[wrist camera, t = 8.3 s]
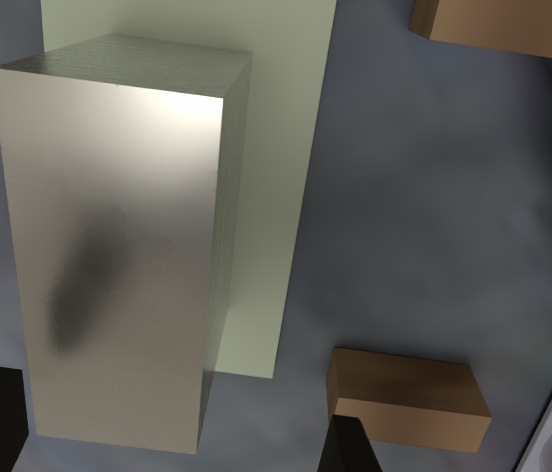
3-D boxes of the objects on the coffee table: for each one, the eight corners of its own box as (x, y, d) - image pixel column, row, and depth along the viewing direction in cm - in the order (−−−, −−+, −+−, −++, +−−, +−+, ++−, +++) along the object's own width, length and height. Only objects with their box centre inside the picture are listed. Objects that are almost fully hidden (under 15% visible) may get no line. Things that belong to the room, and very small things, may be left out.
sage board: (340, -35, 16) (342, -35, 15) (273, 366, 23) (272, 378, 22) (47, -79, 15) (35, -81, 15) (72, 339, 23) (64, 351, 22)
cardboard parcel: (617, -12, 16) (683, -10, 13) (455, 399, 23) (476, 453, 21) (425, -41, 16) (451, -45, 13) (326, 381, 23) (329, 434, 20)
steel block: (252, 52, 16) (222, 98, 10) (227, 310, 21) (196, 454, 14) (110, 33, 16) (-9, 67, 10) (116, 296, 21) (36, 435, 14)
